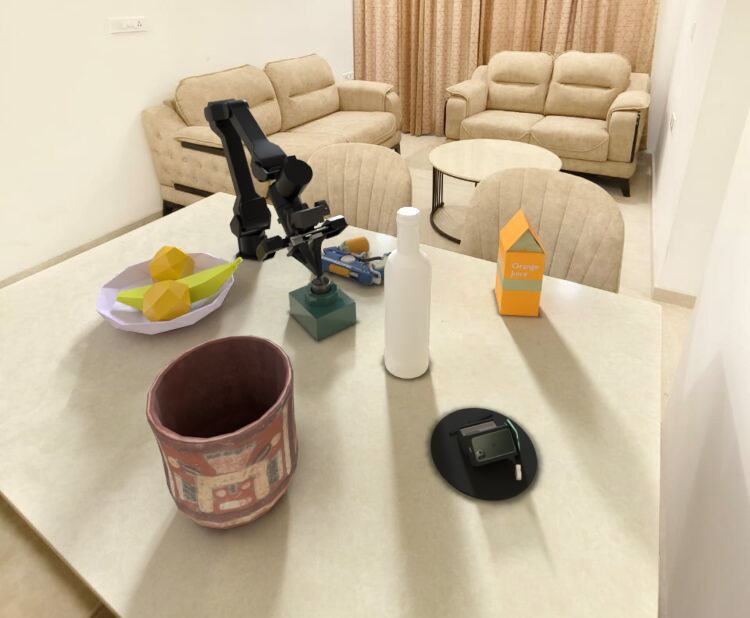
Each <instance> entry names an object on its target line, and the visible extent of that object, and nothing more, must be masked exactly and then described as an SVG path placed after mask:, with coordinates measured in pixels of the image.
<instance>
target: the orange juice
mask: <svg viewBox="0 0 750 618" xmlns="http://www.w3.org/2000/svg"><path fill="white" fill-rule="evenodd" d="M546 256H547V254H546V250H545V248H544V246H543V244H542V241H541V239H540V237H539V234H538V233H537V231H536V230H535V229H534V227H533V226H532V224H531V223H530V220H528V218H527V216H526V215H525V213H524V212H523V210H522V208H520V209H519V210H518V211H517V212H516V213H515V214H514V215H513V217H512V218H511V219H510V220H509V221H508V222H507V223H506V224H505V225H504V226H503V227H502V229H500V231H499V239H498V252H497V259H496V260H497V261H496V273H495V282H494V283H495V284H494V293H495V297H496V302H497V307H498V312H499V315H502V316H519V317H520V316H521V317H522V316H523V317H539V308H540V301H541V295H542V294H541V293H542V287H543V279H544V272H545V263H546Z"/></svg>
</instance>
